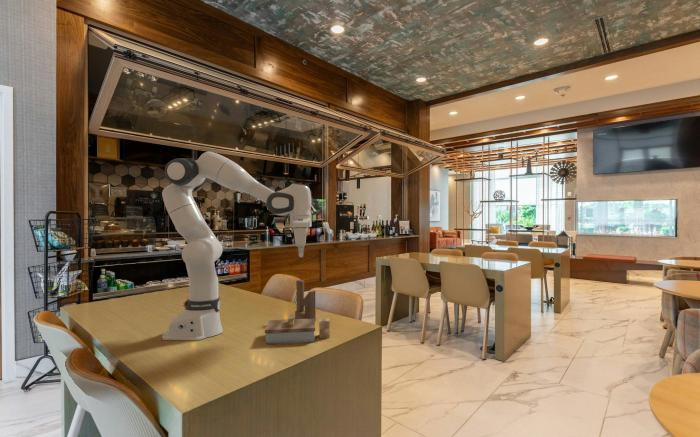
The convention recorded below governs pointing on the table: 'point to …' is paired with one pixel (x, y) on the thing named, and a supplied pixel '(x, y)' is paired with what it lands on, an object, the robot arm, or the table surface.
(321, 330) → the beige block
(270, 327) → the lid
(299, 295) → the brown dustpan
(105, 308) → the table surface
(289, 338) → the grey shallow tray
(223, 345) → the table surface
